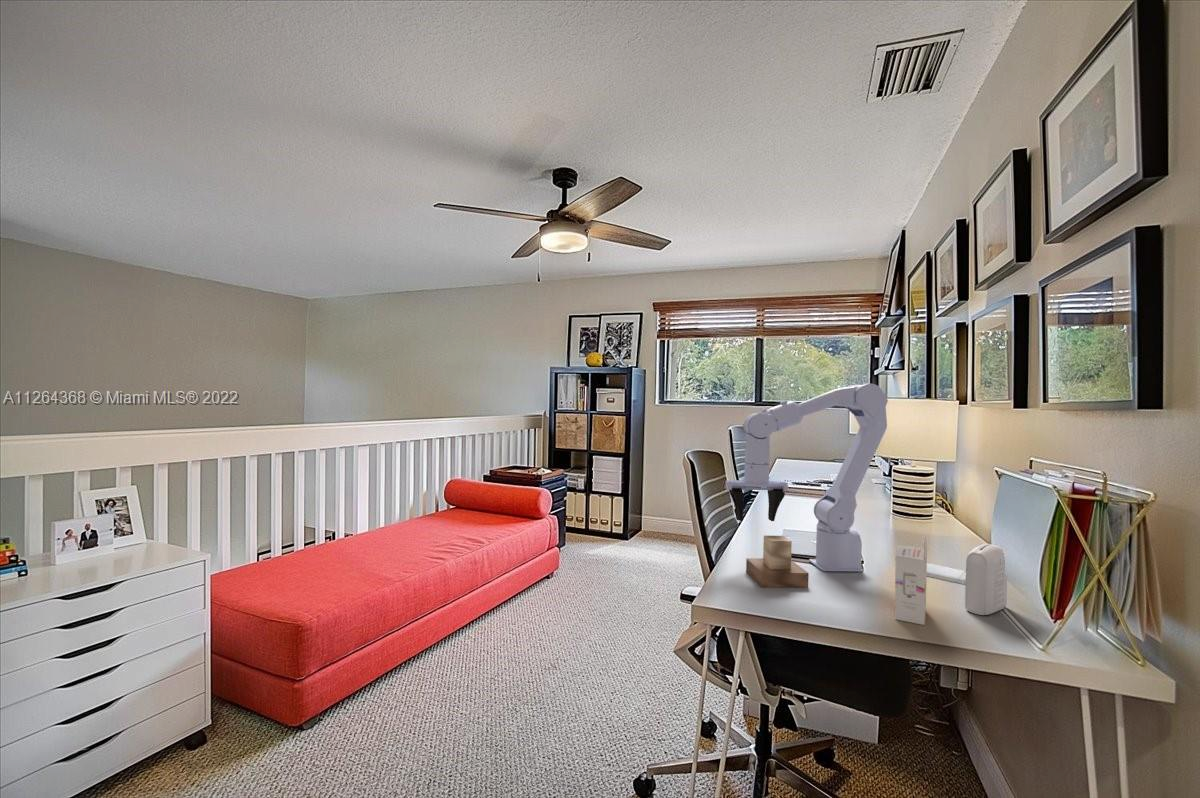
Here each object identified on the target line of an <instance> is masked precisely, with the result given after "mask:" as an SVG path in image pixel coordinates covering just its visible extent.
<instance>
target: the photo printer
mask: <svg viewBox="0 0 1200 798" xmlns="http://www.w3.org/2000/svg"><path fill="white" fill-rule="evenodd" d="M1002 548H1003V547H1001V546H999V545H997V544H991V543H983V544H980V545H978V546H975V547H974V548H973V549H972V550H970V551H969V552H968V554H967V555H966V559H965V571H966V582H965V583H966V584H964V587H965V588H964V608H965V609H966V610H967V611H968V612H970V613H972V614H974V615H979V616H988V615H992V614H994V613H997V612H998V611H999V612H1000V611H1002V610H1003V609H1005V608H1006V607H1007V604H1008V577H1007V578H1006V574H1005V557H1004V553H1003V550H1002ZM1004 607H1005V608H1004Z"/></svg>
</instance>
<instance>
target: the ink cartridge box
mask: <svg viewBox="0 0 1200 798" xmlns="http://www.w3.org/2000/svg"><path fill="white" fill-rule="evenodd" d="M922 545H923V548H919V547H913V546H906V545H897V548H896V552H895V554H894V556H895V558H894V559H895V571H894V572H895V585H894V586H895V595H894V596H895V599H894V603H895V604H894V619H895V620H896V621H897V620H898V621H903V622H906V623H911V624H915V625H916V624H917V625H921V626H925V625H926V606H927V605H926V604H927V582H928V581H927V577H928V576H927V563H928V545H927V535H926V533H924V534H923V544H922Z"/></svg>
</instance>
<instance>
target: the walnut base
mask: <svg viewBox="0 0 1200 798" xmlns="http://www.w3.org/2000/svg"><path fill="white" fill-rule="evenodd" d="M745 562H746V563H745V564H746V565H745V570H746V573H747V574H748V575H749V576H750V577H751V578H752V579H753V580H754V581H755V582H756V583H757V584H758V586H760V587H761V588H809V577H810V576H809V574H810V573H809V572H808V571H806V570H805V569H804V568H802V566H800V565H799V564H797V563H796V562H795V561H793V560H792V559H791V569H770V568H769V567H768V566H767V565H765V564H764V563H763V557H762V558H755V557H753V558H749V557H747V558H746V560H745Z"/></svg>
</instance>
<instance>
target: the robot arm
mask: <svg viewBox="0 0 1200 798" xmlns="http://www.w3.org/2000/svg"><path fill="white" fill-rule="evenodd" d="M888 401H889V400H888V397H887V396H886V395H885V393H884V390H883V389H882V388H881V387H880V386H879V385H877V384H874V383H865V384H851V385H848V386H842V387H839V388H835V389H832V390H829V391H826V392H824V393H822V394H819V395H816V396H814V397H812V398H810V399H807V400H805V401H802V402H800V403H797V402H795V401H792V400H789V401H787V400H786V399H785V400H781V401H780V402H779V404H778V405H775V406H772V407H770V408H766V407H764V408H762V409H761V412H756V413H751V414H748V415H747V417H746V418H745V420H744V422H743V424H742V429H743V431H744V433H745V444H744V473H743V474H744V475H743V476H744V477H743V479H742V480H741V479H739V480H725V490H728V491H729V495H730V497H731V499H732V502H733V505H734V508H735V512H736V519H737V520H738V521H739V522H741V521H742V522H743V520H744V501H745V493H744V491H746V490H749V491H767V498H768V513H767V518H768V520H769V521H770V522H775V519H776V516H777V512H778V509H779V507H780V504H781V503H782V501H783V500H784V498H785V496H786V495H785V494H786V492H788V488H789V483H788V482H786V481H779V480H778V481H777V480H776V481H775V480H770V466H771V465H770V460H771V458H770V455H771V449H770V448H771V446H770V445H771V444H770V442H771V441H770V440H771V438H770V437H771V435H773V432H774V433H776V432H779V431H782V430H785V429H788V428H790V427H793V426H796V425H798V424H801V422H802V421H803V418H804V417H805V416H808V415H811V414H814V413H818V412H820V411H824V410H827V409H829V408H833V407H845V408H846V409H847V410H848V411H849V412H850V413H851V414H852V415H853V416H854V418H855V420H856V422H857V424H858V425H859V428H858V430H857V433H856V435H855V437H854V439H853V442H852V444H851V446H850V447H849V450H848V452H847V454H846V456H845V458H844V460H843V462H842V465H841V467H840V469H839V470H838V474H837V476H836V478H835V479H834V481H833V484H832V486H830V487H829V488H828V489H827V490H825V492H824V494H823V496H822V497H821V498H820V499H818V500H817V501H816V503H815V504H814V506H813V513H814V517H815V518H816V519H817V524H816V535H815V536H816V541H815V545H816V546H815V558H809V559H808V561H809V562H810V563H811V564H813V565H814V566H816V567H817V568H818V569H820V570H821V571H823V572H863V571H864V569H863V568H862V554H863V553H862V550H863V549H862V547H863V546H862V537H861V535H860V533H859V532H858V531H857V530H855V529H851V528H852V527H853V525H854V522H855V510H856V509H857V506H858V505H857V498H856V495H857V493H858V491H859V489H860V487H861V484H862V482H863V480H864V478H865V475H866V474H867V471H868V469H869V467H870V465H871V463H872V461H873V458H874V456H875V454H876V452H877V450H878V448H879V446H880V444H881V442H882V440H883V437H884V435H885V433H886V430H887V426H888V420H887V404H888Z"/></svg>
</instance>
